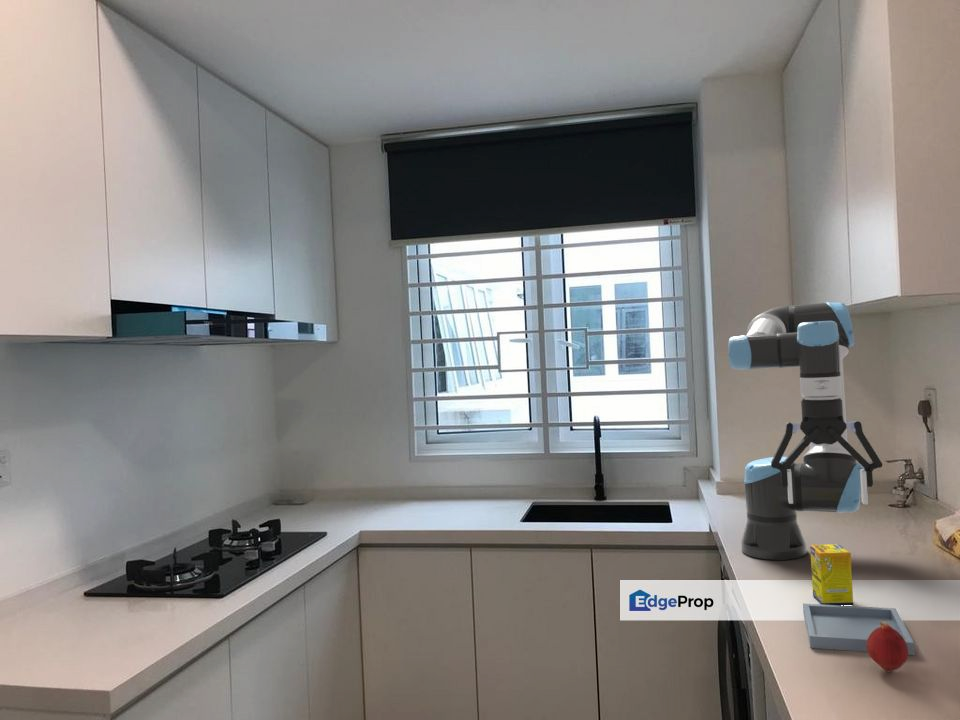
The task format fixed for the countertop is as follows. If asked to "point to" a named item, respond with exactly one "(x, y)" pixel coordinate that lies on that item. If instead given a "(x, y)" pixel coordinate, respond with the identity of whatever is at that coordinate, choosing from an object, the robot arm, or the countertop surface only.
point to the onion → (887, 647)
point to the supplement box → (831, 574)
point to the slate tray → (849, 626)
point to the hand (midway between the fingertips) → (827, 502)
